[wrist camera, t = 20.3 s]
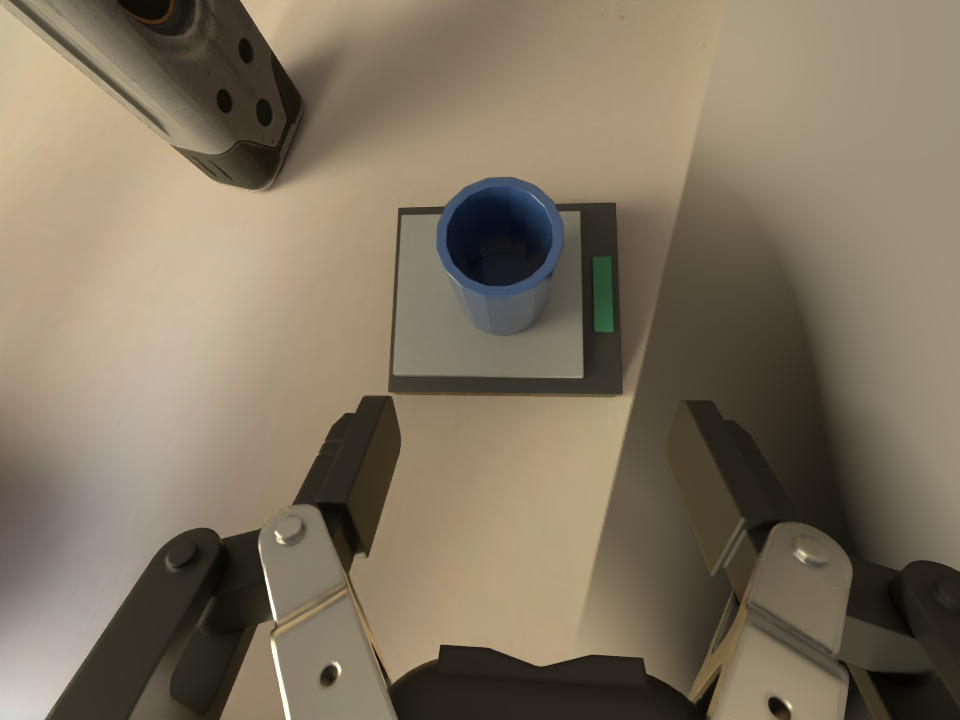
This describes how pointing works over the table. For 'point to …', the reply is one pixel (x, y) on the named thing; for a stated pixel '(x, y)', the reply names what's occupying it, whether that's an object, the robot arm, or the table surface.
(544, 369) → the kitchen scale
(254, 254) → the table surface
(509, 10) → the table surface
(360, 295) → the table surface
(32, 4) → the electronic device
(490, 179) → the cup
